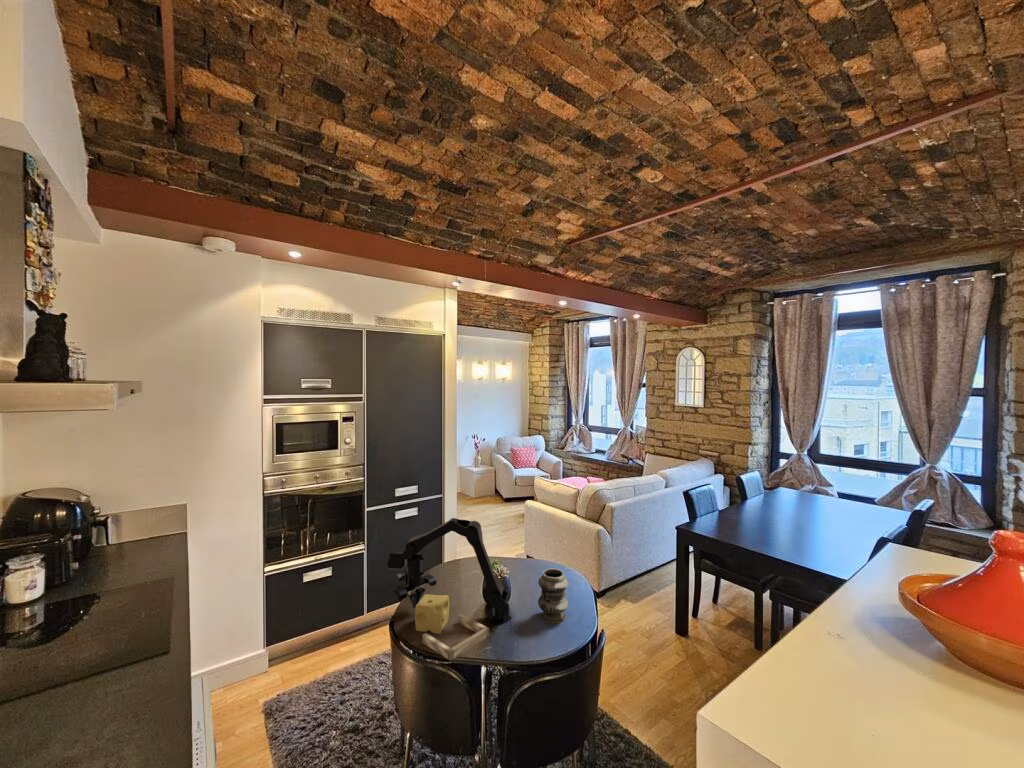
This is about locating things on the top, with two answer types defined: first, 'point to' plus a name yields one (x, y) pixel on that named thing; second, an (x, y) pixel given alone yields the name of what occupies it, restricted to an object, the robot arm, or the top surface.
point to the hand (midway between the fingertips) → (414, 607)
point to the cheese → (432, 613)
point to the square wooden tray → (462, 646)
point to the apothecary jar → (553, 595)
